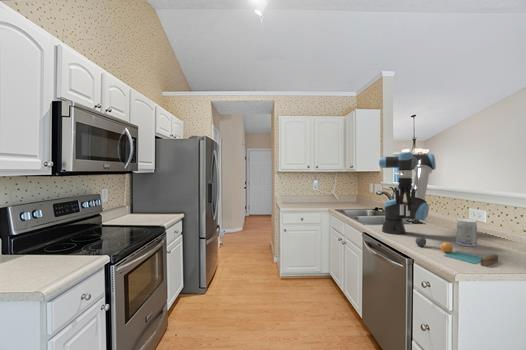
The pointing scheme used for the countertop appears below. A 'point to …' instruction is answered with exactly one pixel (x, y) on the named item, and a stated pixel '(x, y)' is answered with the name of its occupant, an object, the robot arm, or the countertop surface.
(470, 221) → the supplement tub
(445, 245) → the object ball
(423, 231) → the countertop surface
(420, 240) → the gray ball
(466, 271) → the countertop surface
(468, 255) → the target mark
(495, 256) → the wall
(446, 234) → the countertop surface
